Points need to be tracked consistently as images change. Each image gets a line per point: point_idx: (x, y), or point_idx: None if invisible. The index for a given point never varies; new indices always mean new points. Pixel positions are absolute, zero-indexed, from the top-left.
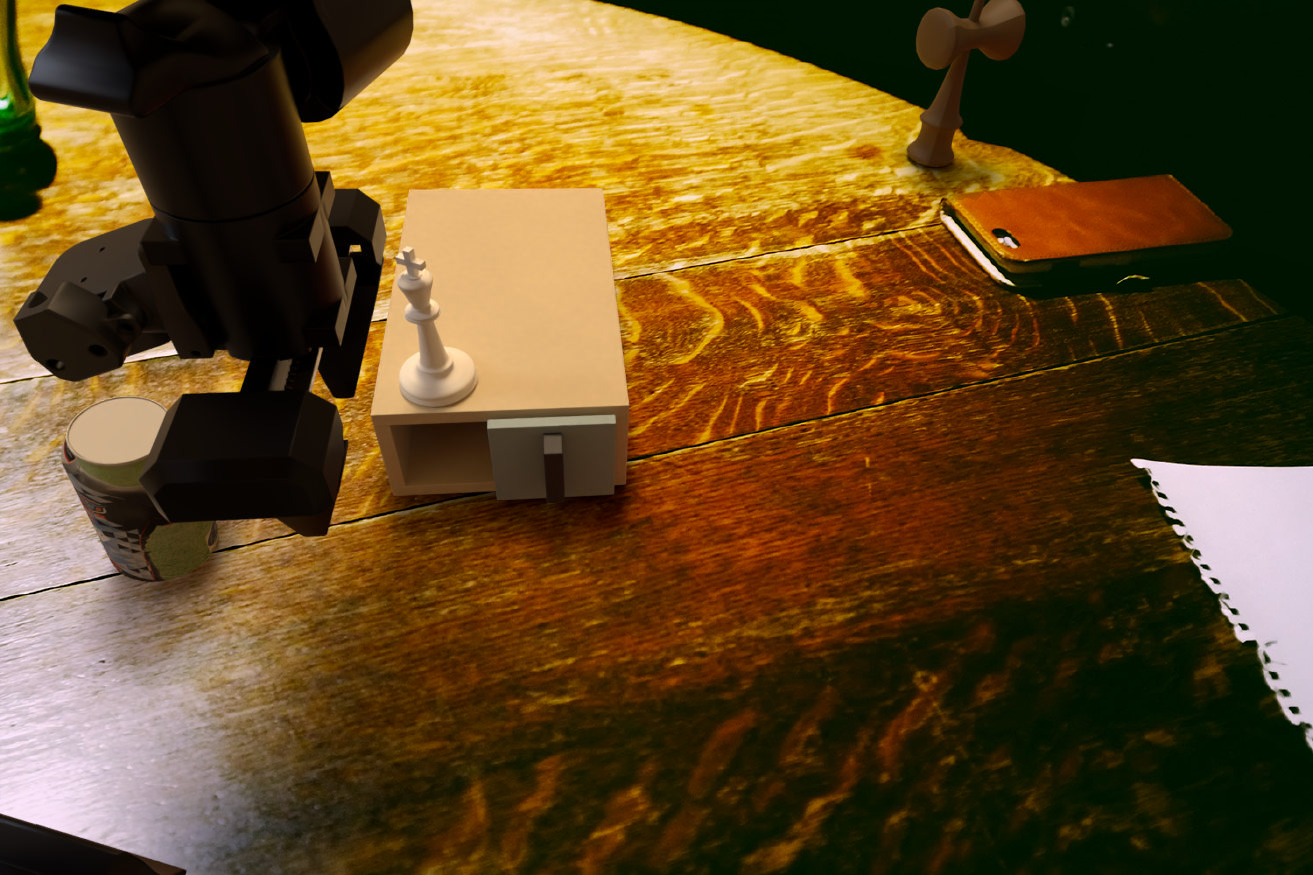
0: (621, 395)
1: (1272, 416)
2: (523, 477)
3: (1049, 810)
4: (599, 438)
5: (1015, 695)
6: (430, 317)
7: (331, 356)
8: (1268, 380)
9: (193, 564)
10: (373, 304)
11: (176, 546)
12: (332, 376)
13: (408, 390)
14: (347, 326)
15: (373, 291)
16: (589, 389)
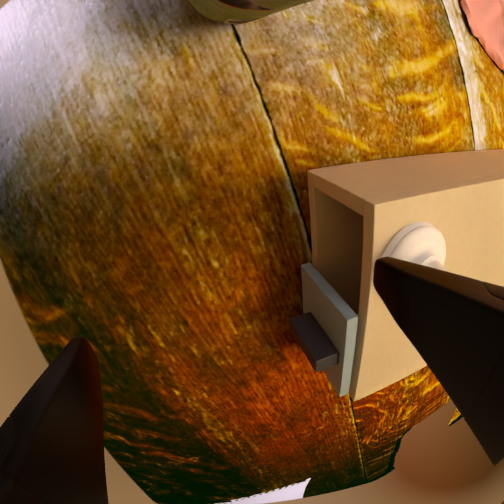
0: (364, 394)
1: (324, 491)
2: (313, 301)
3: (150, 479)
4: (332, 377)
5: (194, 474)
6: None
7: (436, 320)
8: (340, 487)
9: (205, 14)
10: (478, 439)
11: (202, 2)
12: (406, 291)
13: (400, 248)
14: (470, 386)
15: (491, 457)
16: (375, 376)
